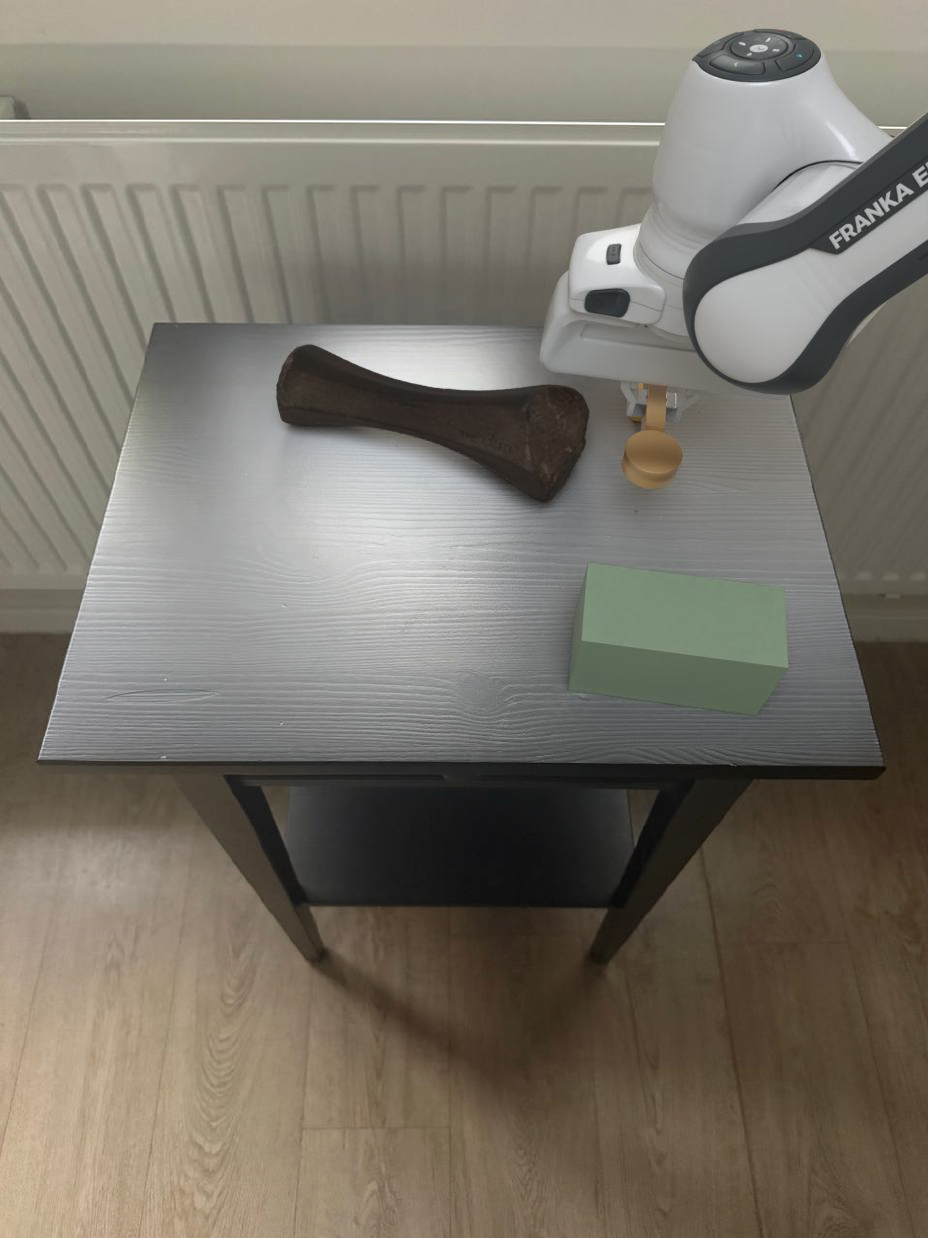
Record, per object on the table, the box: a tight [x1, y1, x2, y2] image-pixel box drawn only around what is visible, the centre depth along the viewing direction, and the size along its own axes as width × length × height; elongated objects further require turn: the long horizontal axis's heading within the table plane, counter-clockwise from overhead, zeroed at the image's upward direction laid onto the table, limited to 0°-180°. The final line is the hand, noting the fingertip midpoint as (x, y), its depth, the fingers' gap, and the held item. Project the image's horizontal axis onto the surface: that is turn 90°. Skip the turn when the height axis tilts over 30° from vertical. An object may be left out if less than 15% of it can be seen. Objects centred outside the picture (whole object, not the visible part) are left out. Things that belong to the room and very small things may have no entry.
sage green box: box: [567, 562, 790, 716], centre depth 73 cm, size 15×7×8 cm, turn 82°
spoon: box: [620, 383, 684, 490], centre depth 78 cm, size 14×5×2 cm, turn 172°
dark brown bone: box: [275, 343, 590, 503], centre depth 85 cm, size 11×10×28 cm
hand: (652, 413), depth 79 cm, fingers closed on spoon, 2 cm apart
